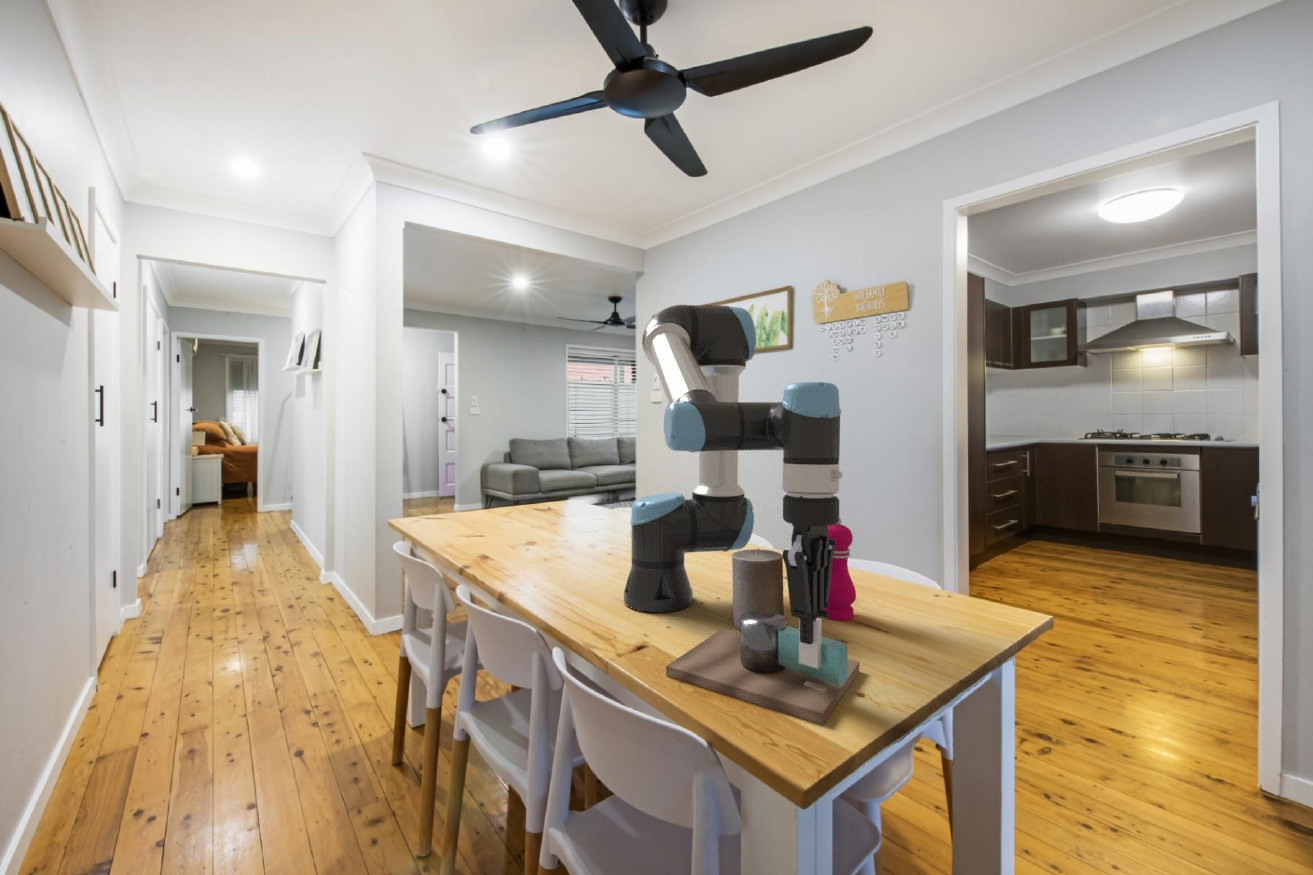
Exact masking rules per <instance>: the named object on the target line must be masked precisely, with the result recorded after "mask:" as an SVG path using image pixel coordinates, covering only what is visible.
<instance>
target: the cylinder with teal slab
mask: <svg viewBox="0 0 1313 875" xmlns="http://www.w3.org/2000/svg"><path fill="white" fill-rule="evenodd" d="M787 623H788V622H787V618H786V616H782V615H780V614H777V613H774V612H768V611H751V612H746V613H744V614H742V615H741V616H740V630H739V633H740V661H741V664H742V665H743V666H745V667H746V668H748V669H751V670H754V671H758V672H777V671H780V670H783V669H784V668H785V667H788V668H791V669H793V670H796V671H799V672H801V673H804V674H807V675H810V676H812V677H815V678H818V679H820V680H823V681H826V682H829V683H831V684H834V685H837V686H840V685H841V684H843V683H844V682H846V681H847V680H848V659H849V658H848V649H849V648H848V643H845V642H842V641H839V640H835V639H832V638H828V637H825V636H822V635H821V666H820V667H819V668H818V669H817V668H814V667H811V666H807V665H804V664H800V663H799V628H795V627H792V626H789V625H787Z"/></svg>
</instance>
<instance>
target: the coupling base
mask: <svg viewBox="0 0 1313 875" xmlns="http://www.w3.org/2000/svg"><path fill="white" fill-rule="evenodd" d="M665 668H666V673H665V676H666V677H669V678H673V679H676V680H679V681H682V682H685V683H687V684H692V685H695V686H698V687H701V688H704V689H708V690H711V691H714V692H716V693H720V694H723V695H726V696H730V697H733V698H736V699H738V700H741V701H745V702H749V703H752V704H754V705H757V706H761V707H764V708H767V709H771V710H774V711H777V712H780V713H782V714H787V715H789V716H792V717H795V718H799V719H802V720H805V721H809V722H812V723H815V724H817V725H820V726H824V725H825V723H826V722H827V720H828V718H829V717H830V716H831V714H832V712H834V710H835V708H836V707H837V705H838V703H840V701H841V699H842V698H843V697H844V695H845V693H846V692H847V690H848V689H849V687H850V686H851V685H852V683H853V681H854V680H855V678H856V677H857V675H858V674H859V673H860V661H857V660H853V659H851V658H850V659H849V658H848V680H847V681H846V682H844V683H843V684H841V685H840V686H837V685H834V684H831V683H829V682H826V681H823V680H820V679H818V678H815V677H812V676H810V675H807V674H804V673H801V672H799V671H796V670H793V669H791V668H788V667H785V668H784V669H783V670H780V671H777V672H758V671H754V670H751V669H748V668H746V667H745V666H743V665H742V664H741V661H740V632H735V631H731V630H727V629H720V630H718V631H716V632H715V633H714V634H711V635H710V636H709V637H708V638H706V639H705V640H702V641H701V642H700V643H699V644H697V645H696V646H694V647H692V648H691V649H690V650H688V651H687V652H685V653H683V654H682V655H680V656H679V657H678V658H676V659H675V660H673V661H671V662H670V663H668V664H666V666H665Z"/></svg>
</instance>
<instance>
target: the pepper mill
mask: <svg viewBox="0 0 1313 875" xmlns="http://www.w3.org/2000/svg"><path fill="white" fill-rule="evenodd" d="M828 531H829V535H828V537H829V539H835V541H836V545H835V549H834V554H833V561H832V572H831V583H830V593H829V605H828V608H827V609H825V608H824V611H826V612H829V616H828V617H827V618H826V619H829V620H832V621H839V620H840V622H841V621H842V622H843V621H844V620H845V621H849V620H852V619H853V618H854V613H855V612H854V611H855V610H854V607H853V606H852V604H853V603H855V601H856V599H857V593H856V587H855V585H854V582H853V580H852V578H851V575H850V572H849V566H848V562H849V561H848V559H849V558H850V557H851V549H849V547H850V546H851V545H852V543H853V540H854V539H853V537H854V536H853V532H852V531H851V529H850V528H849V527H847V526H846V525H843V524H842V519H841V517H839V522H838V523H837V524H835V525H831V526H828Z"/></svg>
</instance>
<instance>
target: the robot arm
mask: <svg viewBox="0 0 1313 875" xmlns="http://www.w3.org/2000/svg"><path fill="white" fill-rule="evenodd" d="M754 322H755V321H754V320H753V318H752V316H751V314H750V312H748V310H747V309H745V308H742V307H739V306H738V307H736V306H729V305H698V304H697V305H695V304H694V305H692V304H676V305H675V304H674V305H671V306H668V307H665V308H664V309H662V310H660V311H658V312H657V313H656V314H654V315H653V316H652V317H651V319H650V320H648V322H647V324H646V325H645V328H644V330H643V334H642V339H641V344H642V349H643V352H644V354H645V356H646V358H647V360H648V361H649V362H650V363H651V364H652V365H654V367H655V370H656V372H657V375H658V377H659V380H660V383H661V385H662V388H663V391H664V393H665V395H666V398H667V399H666V400H667V401H668V405H667V406H666V408H665V410H664V417H663V433H664V439H665V443H666V446H667V447H668V448H669V449H670V450H672V451H674V452H675V451H677V452H679V451H680V452H689V453H697V452H698V453H699V456H698V457H699V458H698V460H699V461H698V462H699V464H698V471H699V472H698V484H697V485H696V486H695V487H694V488H693V489H692V494H691V495H692V496H691V497H692V498H691V499H685V497H684V494H683V493H680V492H670V493H669V492H667V493H666V492H665V493H658V494H651V495H648V496H643V497H641V498H638V499H637V500H635V501H634V502H633V503H632V505H631V513H630V514H631V515H630V521H629V523H630V525H631V529H630V530H631V531H630V532H631V536H630V538H631V566H630V570H629V574H628V577H627V581H626V583H625V588H624V590H623V603H624V602H625V604H627V605H628V606H629V607H632V608H635V609H639V610H643V611H642V612H644V611H649V612H648V613H670V612H676V610H677V611H680V609H681V610H684V609H686V608H688V607H690V606H691V605H692V604H693V596H694V595H693V593H694V592H693V589H692V587H691V583H690V579H689V577H688V572H687V570H686V567H685V554H686V553H687V554H689V553H702V552H703V553H705V552H706V553H708V552H723V553H724V552H729V551H736V550H741V549H744V548H745V547H746V546H747V544H748V543H749V542H750V541H751V537H752V534H753V530H754V525H755V524H754V523H755V514H754V513H755V512H754V511H753V510H754V506H753V503H752V501H751V500H750V498H747V497H745V490H744V489H743V488H742V487H741V486H740V485H739V483H738V482H739V481H738V480H739V476H738V473H739V470H738V469H739V466H738V464H739V451H783V453H782V454H783V455H782V456H783V458H782V490H783V492H786V494H785V495H784V497H783V496H782V519H783V521H785V522H786V523H788V524H791V525H792V527H793V528H792V533H791V534H792V535H791V537H790V538H791V548H790V549H783V551H782V557H783V564H784V565H785V572H786V579H787V580H786V581H787V588H788V598H789V607H790V615H791V616H792V617H794V618H798V629H799V663H800V664H804V665H807V666H811V667H814V668H817V669H818V668H819V667H820V666H821V636H822V630H823V629H822V625H823V624H822V618H826V619H828V618H827V617H828V616H829V612H826V611H824V608H825V609H827V608H828V605H829V593H830V583H831V572H832V561H833V554H834V549H835V545H836V541H835V539H829V537H828V535H829V531H828V526H831V525H835V524H837V523H838V522H839V518H840V499H839V497H838V496H836V495H835V494H837V493H838V492H839V491H840V479H842V478H843V472H842V471H840V449H841V448H840V445H841V444H840V443H841V442H840V440H841V415H842V410H841V407H840V391H839V388H838V387H837V385H836V384H834V383H833V382H832V383H831V382H826V381H825V382H823V381H806V382H805V381H804V382H794V383H790V384H787V385H786V386H785V388H784V389H783V397H782V400H781V401H775V402H774V401H770V402H769V401H768V402H763V401H762V402H761V401H759V402H758V401H756V402H755V401H754V402H753V401H750V402H749V401H748V402H747V401H744V402H743V401H742V402H739V397H740V396H739V395H740V394H739V390H740V388H739V387H740V386H739V384H740V383H739V379H740V378H739V377H740V375H741V374H742V373H743V372H744V371H745V370H746V369H747V368H746V367H747V362H748V361H750V360H752V359H753V358H754V356H755V354H756V350H755V349H756V348H757V333H756V327H755V323H754ZM625 604H624V605H625ZM628 606H627V607H628ZM629 607H628V608H629ZM632 608H631V609H632ZM635 609H634V610H635ZM639 610H638V611H639Z"/></svg>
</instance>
